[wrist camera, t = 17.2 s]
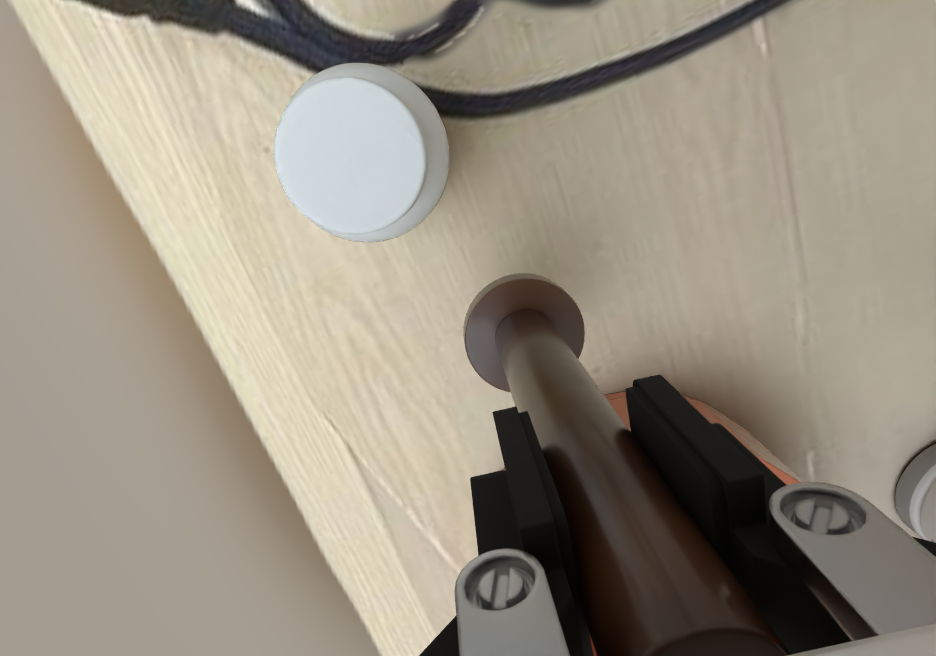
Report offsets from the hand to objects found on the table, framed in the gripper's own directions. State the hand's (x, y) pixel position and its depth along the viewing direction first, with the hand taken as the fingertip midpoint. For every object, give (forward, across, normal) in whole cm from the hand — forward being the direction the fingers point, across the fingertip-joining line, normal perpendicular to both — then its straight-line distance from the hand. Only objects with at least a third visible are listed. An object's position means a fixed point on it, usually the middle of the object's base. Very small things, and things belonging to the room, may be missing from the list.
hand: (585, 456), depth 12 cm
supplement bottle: (+15, +4, -7) cm, 17 cm away
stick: (+9, 0, 0) cm, 9 cm away
